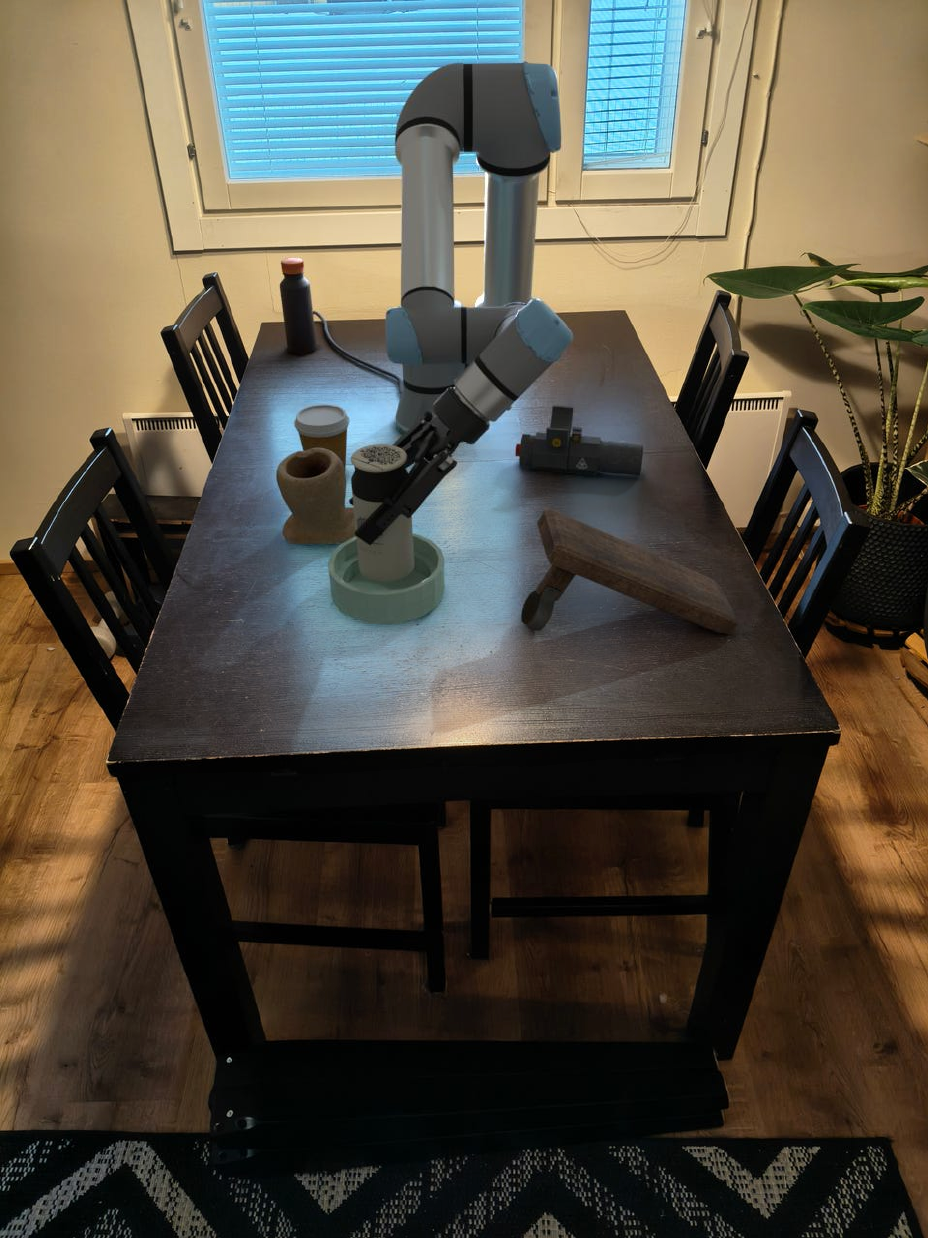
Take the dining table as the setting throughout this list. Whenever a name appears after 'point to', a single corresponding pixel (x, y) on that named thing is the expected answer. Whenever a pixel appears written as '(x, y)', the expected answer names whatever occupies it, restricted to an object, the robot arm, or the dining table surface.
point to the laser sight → (576, 450)
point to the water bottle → (297, 307)
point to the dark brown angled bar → (621, 575)
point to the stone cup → (315, 498)
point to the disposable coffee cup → (323, 429)
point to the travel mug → (370, 486)
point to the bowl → (387, 585)
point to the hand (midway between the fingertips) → (359, 522)
